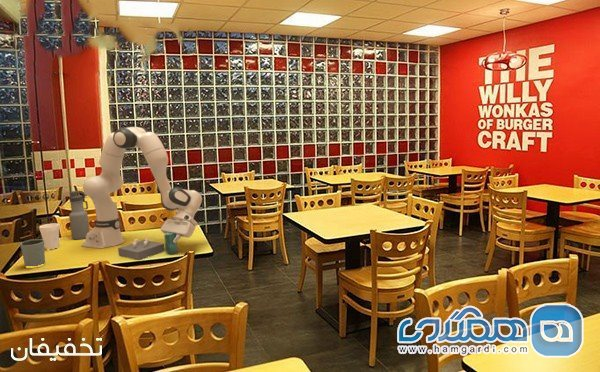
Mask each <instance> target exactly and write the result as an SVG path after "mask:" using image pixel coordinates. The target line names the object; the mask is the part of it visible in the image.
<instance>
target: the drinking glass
mask: <svg viewBox="0 0 600 372" xmlns="http://www.w3.org/2000/svg"><path fill="white" fill-rule="evenodd" d="M20 249H21V254H22V258H23V263H24V267H25V266H38V265H41V264H44V263H45V264H46V254H45V253H46V252H45V250H46V248H45V245H44V240H43V238H36V239H28V240H24V241H22V242H20Z"/></svg>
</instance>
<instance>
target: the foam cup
mask: <svg viewBox="0 0 600 372" xmlns="http://www.w3.org/2000/svg"><path fill="white" fill-rule="evenodd" d="M38 229H39V231H40V234H41V239H43V240H44V249H45V250H46V249H54V248H57V249H59V248H58V247H59V246H60V224H59V223H55V222H54V223H47V224H46V223H45V224H41V225H40V226H39V227H38ZM54 250H55V249H54Z"/></svg>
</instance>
